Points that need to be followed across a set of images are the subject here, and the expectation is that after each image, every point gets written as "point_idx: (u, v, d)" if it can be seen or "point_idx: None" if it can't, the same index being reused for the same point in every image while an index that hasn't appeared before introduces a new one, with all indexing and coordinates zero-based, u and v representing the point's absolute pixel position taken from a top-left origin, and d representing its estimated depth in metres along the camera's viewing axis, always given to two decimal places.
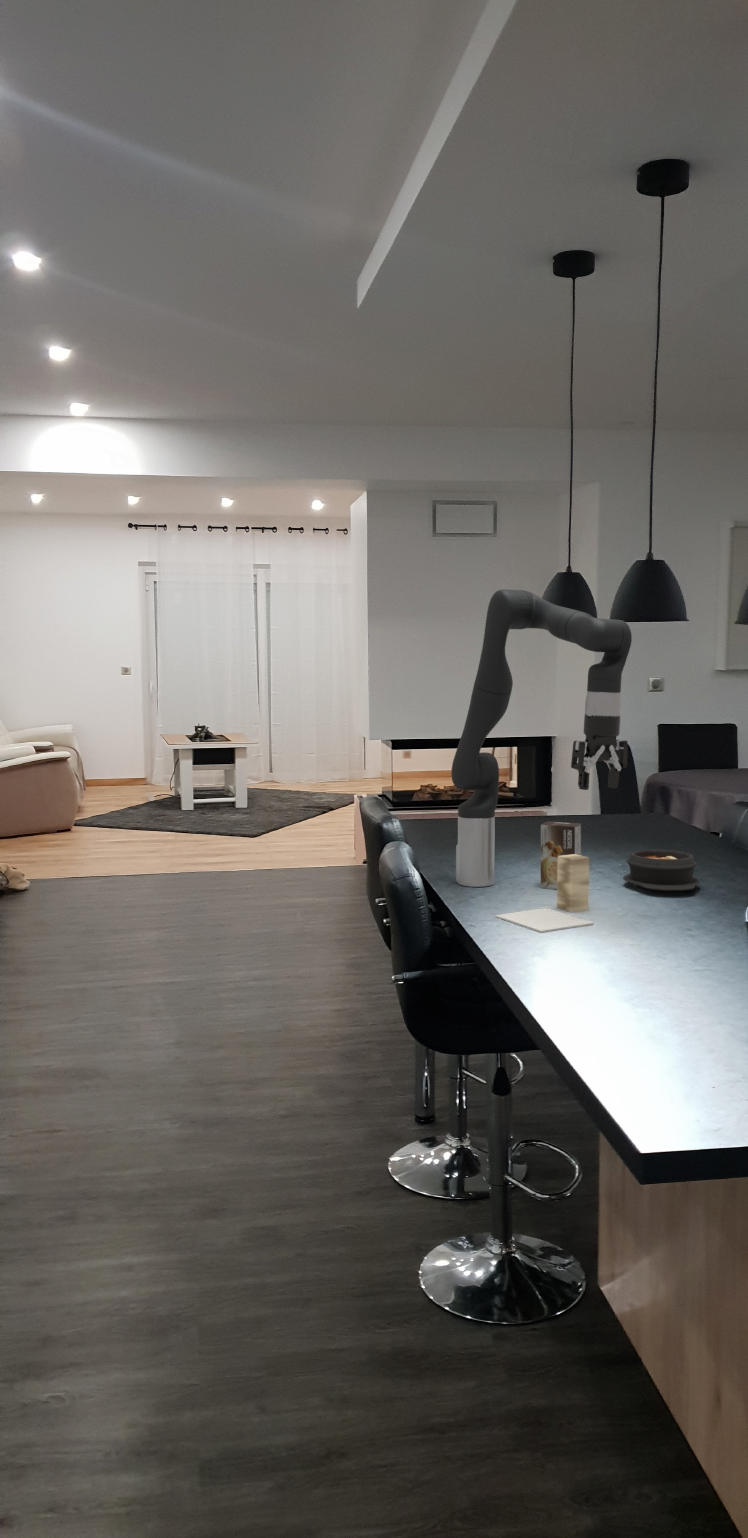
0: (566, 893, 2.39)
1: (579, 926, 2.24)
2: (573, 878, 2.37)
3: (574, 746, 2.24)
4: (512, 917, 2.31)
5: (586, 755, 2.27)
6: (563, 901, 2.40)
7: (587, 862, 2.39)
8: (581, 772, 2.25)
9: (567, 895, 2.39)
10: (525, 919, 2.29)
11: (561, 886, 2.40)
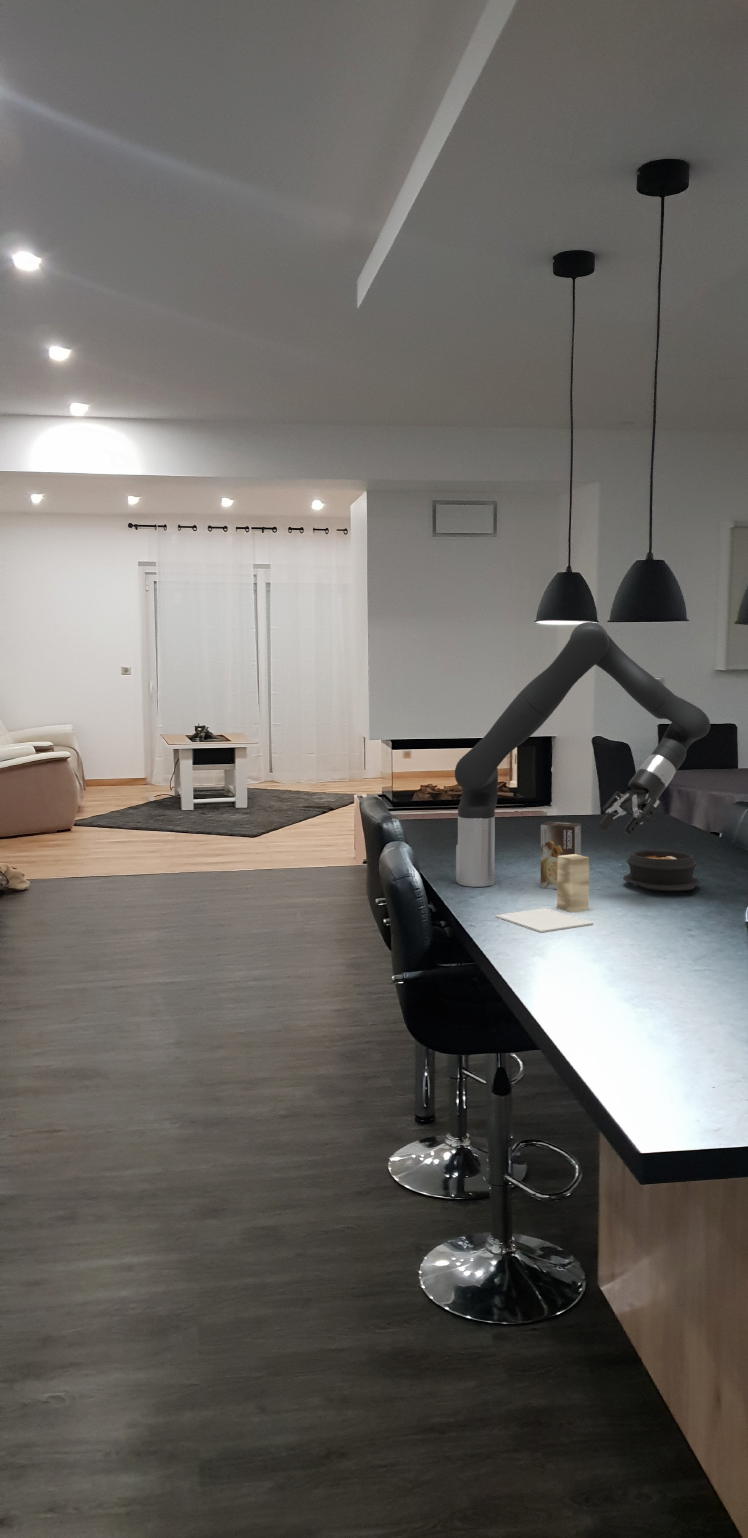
0: (566, 893, 2.39)
1: (579, 926, 2.24)
2: (573, 878, 2.37)
3: (654, 801, 2.41)
4: (512, 917, 2.31)
5: None
6: (563, 901, 2.40)
7: (587, 862, 2.39)
8: (639, 822, 2.41)
9: (567, 895, 2.39)
10: (525, 919, 2.29)
11: (561, 886, 2.40)
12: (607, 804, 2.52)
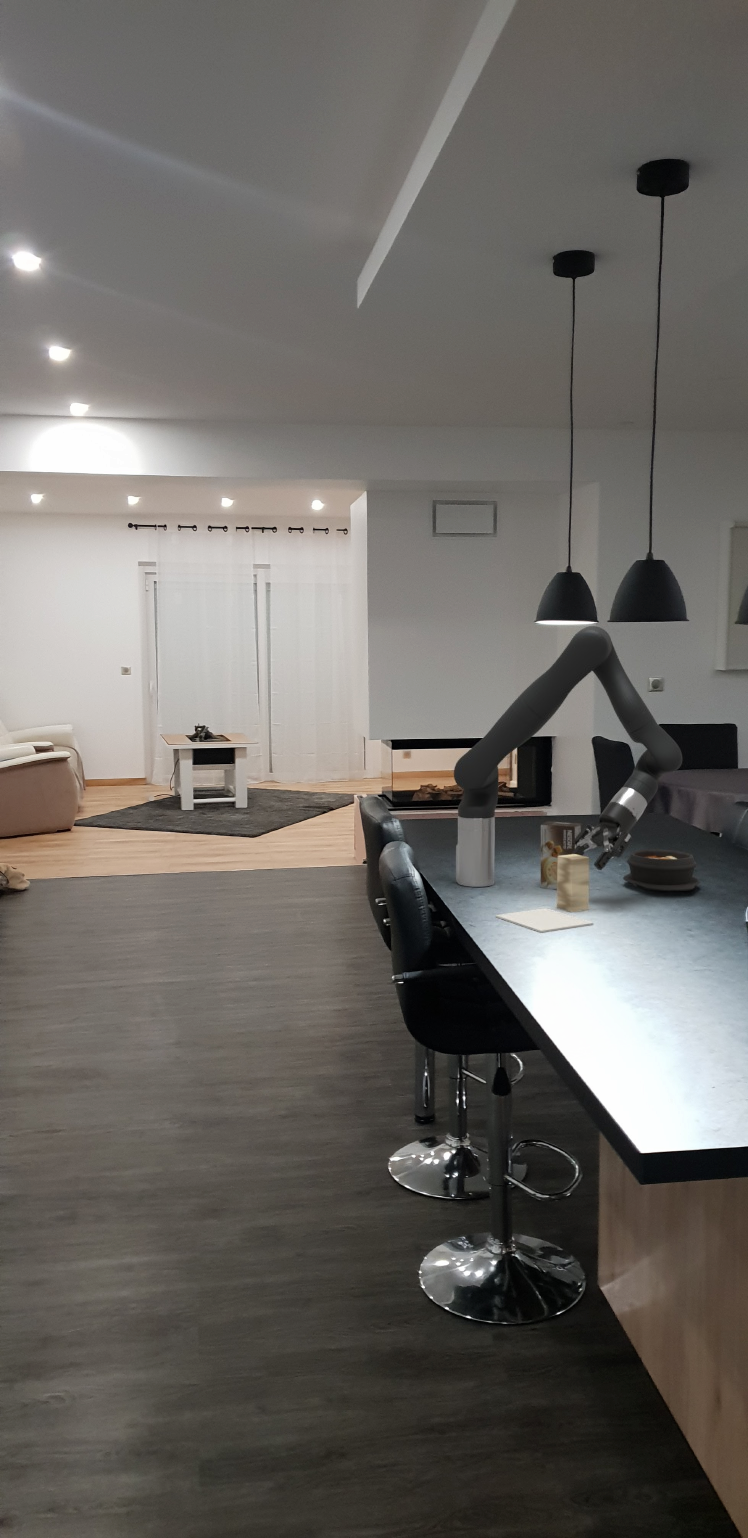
0: (566, 893, 2.39)
1: (579, 926, 2.24)
2: (573, 878, 2.37)
3: (625, 836, 2.38)
4: (512, 917, 2.31)
5: None
6: (563, 901, 2.40)
7: (587, 862, 2.39)
8: (610, 856, 2.38)
9: (567, 895, 2.39)
10: (525, 919, 2.29)
11: (561, 886, 2.40)
12: (578, 837, 2.49)
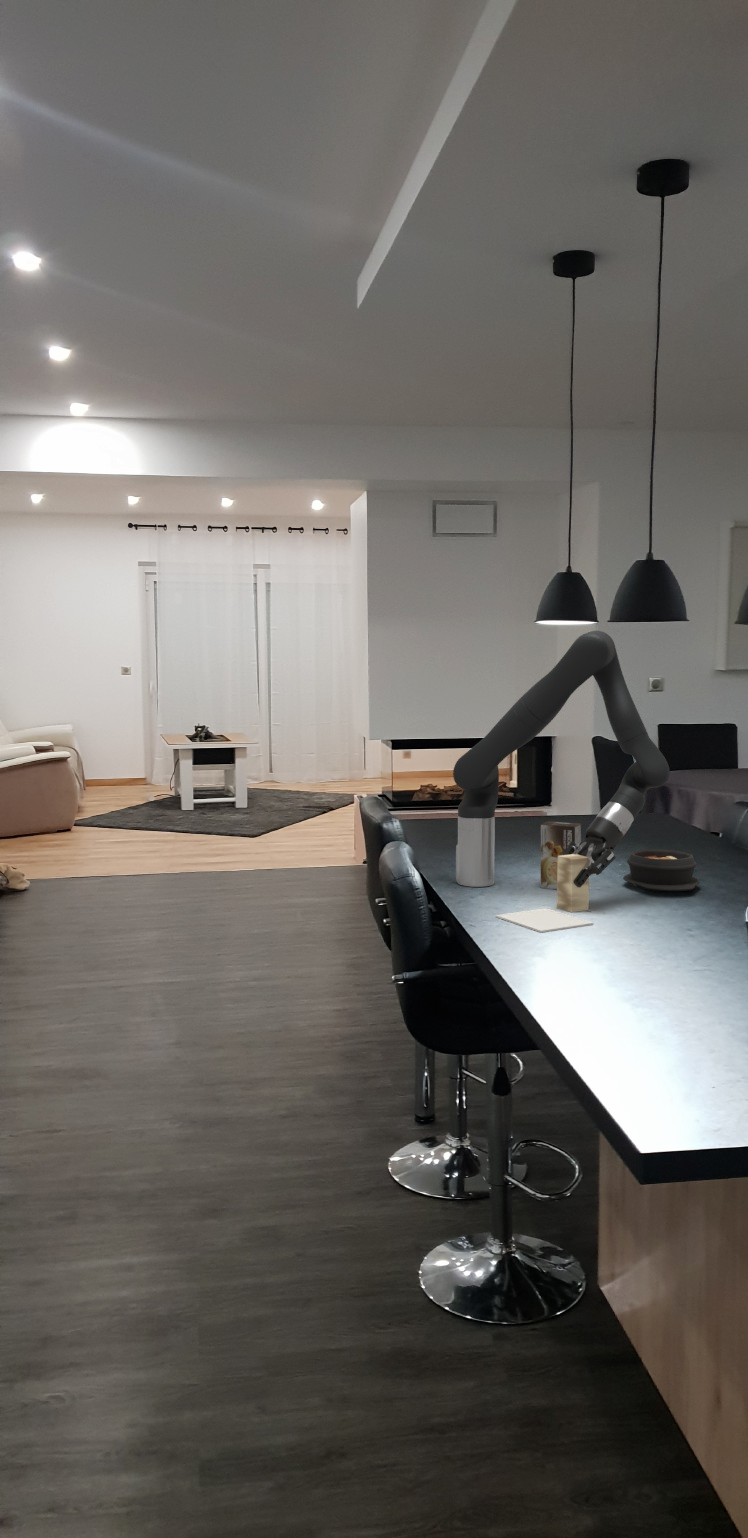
0: (566, 893, 2.39)
1: (579, 926, 2.24)
2: (573, 878, 2.37)
3: (608, 855, 2.36)
4: (512, 917, 2.31)
5: None
6: (563, 901, 2.40)
7: None
8: (589, 873, 2.38)
9: (567, 895, 2.39)
10: (525, 919, 2.29)
11: (561, 886, 2.40)
12: None
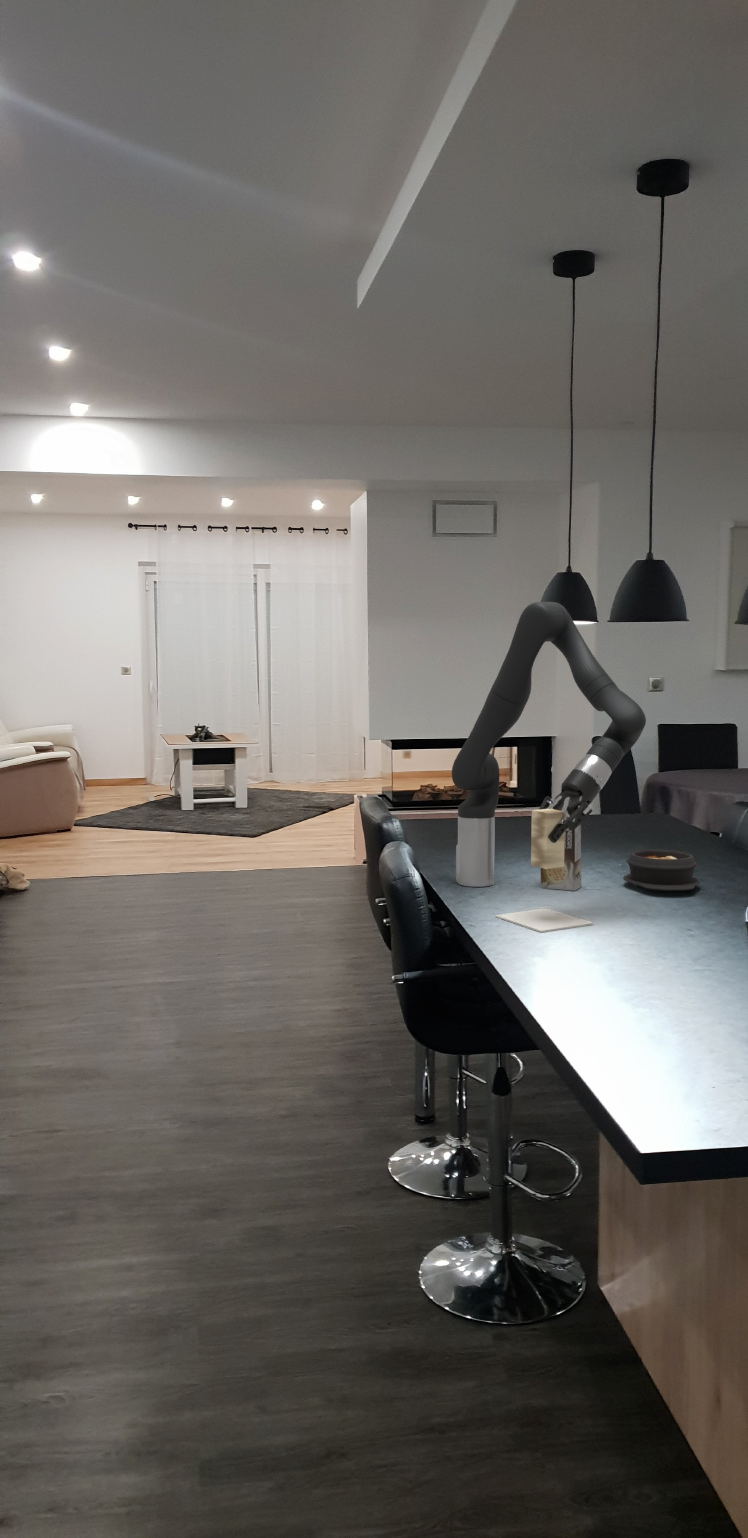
0: (540, 849, 2.27)
1: (579, 926, 2.24)
2: (548, 833, 2.25)
3: (584, 808, 2.24)
4: (512, 917, 2.31)
5: None
6: (537, 858, 2.28)
7: None
8: (564, 828, 2.25)
9: (541, 851, 2.27)
10: (525, 919, 2.29)
11: (535, 842, 2.28)
12: None
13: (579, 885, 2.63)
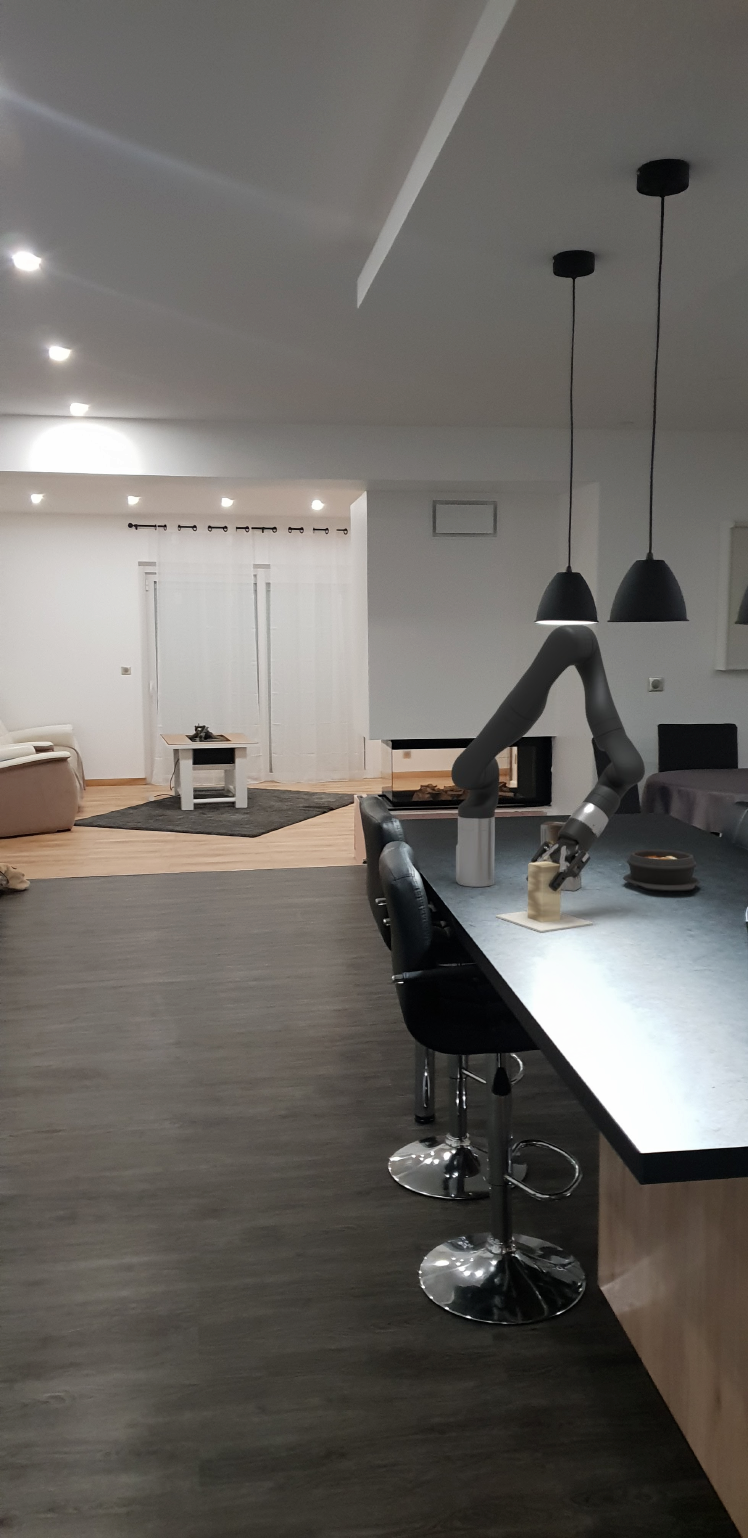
0: (536, 902, 2.28)
1: (579, 926, 2.24)
2: (544, 887, 2.26)
3: (583, 855, 2.25)
4: (512, 917, 2.31)
5: None
6: (534, 911, 2.29)
7: None
8: (565, 876, 2.25)
9: (537, 904, 2.27)
10: (525, 919, 2.29)
11: (532, 895, 2.29)
12: (535, 855, 2.35)
13: (579, 885, 2.63)
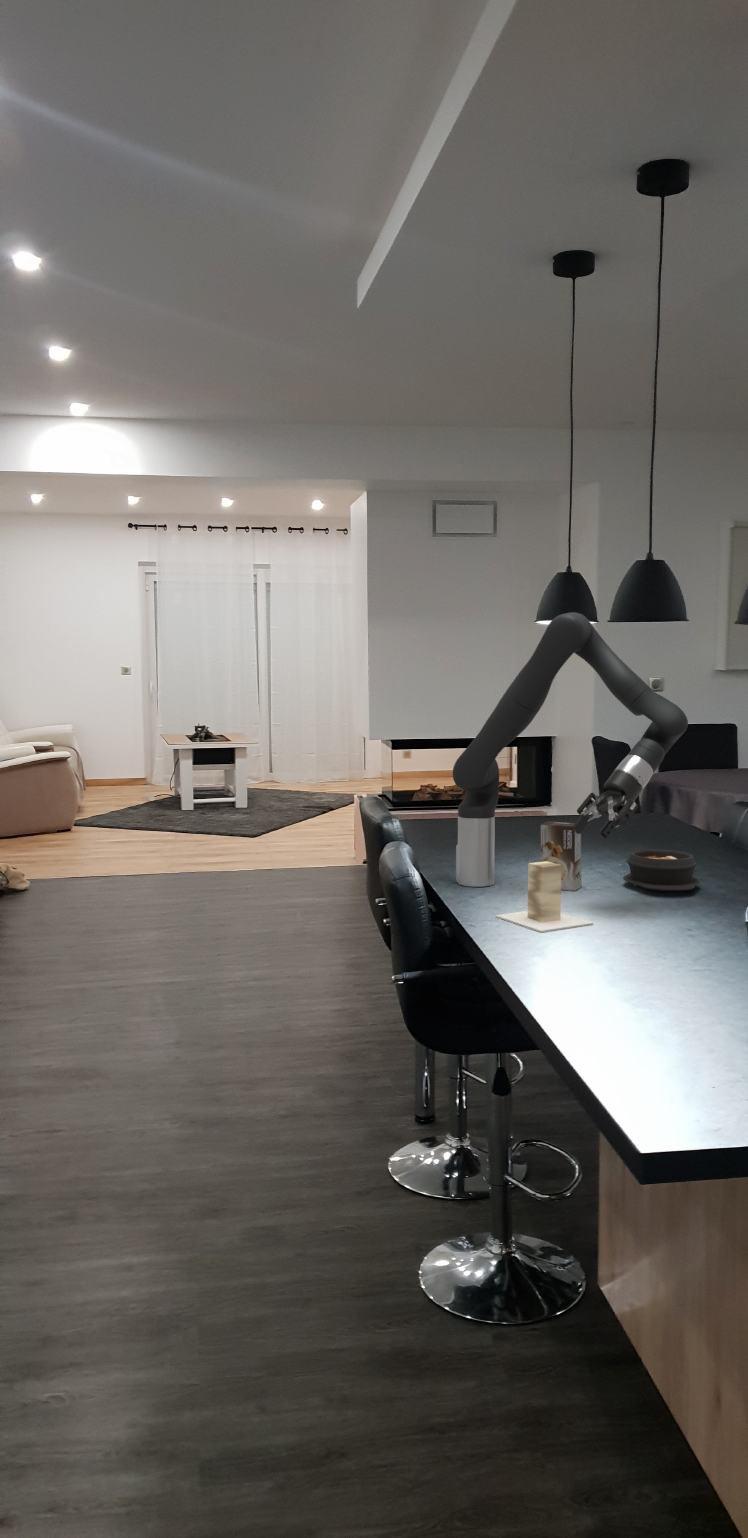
0: (536, 902, 2.28)
1: (579, 926, 2.24)
2: (544, 887, 2.26)
3: (631, 804, 2.30)
4: (512, 917, 2.31)
5: None
6: (534, 911, 2.29)
7: (559, 870, 2.28)
8: (614, 825, 2.30)
9: (537, 904, 2.27)
10: (525, 919, 2.29)
11: (532, 895, 2.29)
12: (581, 806, 2.41)
13: (579, 885, 2.63)
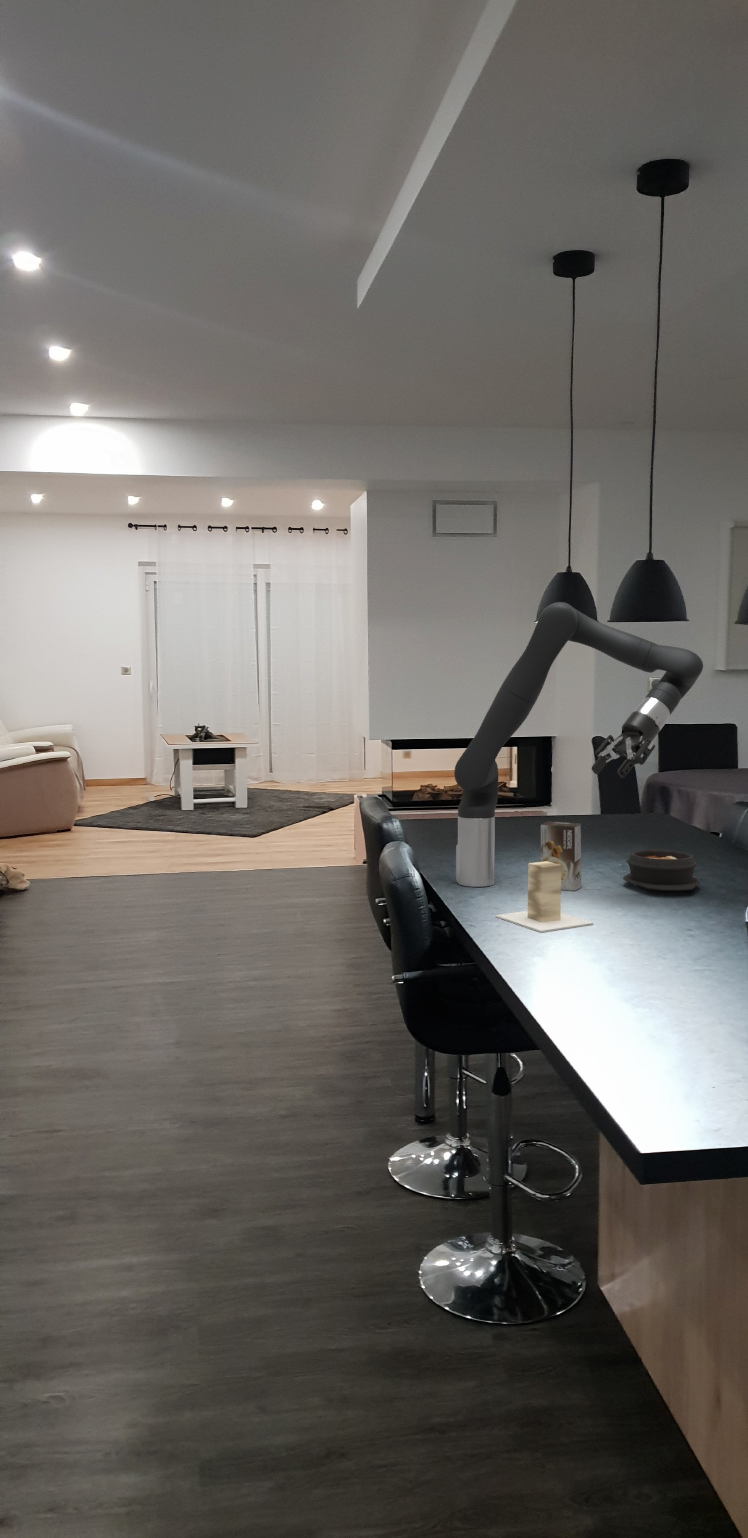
0: (536, 902, 2.28)
1: (579, 926, 2.24)
2: (544, 887, 2.26)
3: (649, 743, 2.37)
4: (512, 917, 2.31)
5: None
6: (534, 911, 2.29)
7: (559, 870, 2.28)
8: (633, 763, 2.37)
9: (537, 904, 2.27)
10: (525, 919, 2.29)
11: (532, 895, 2.29)
12: (600, 748, 2.47)
13: (579, 885, 2.63)
